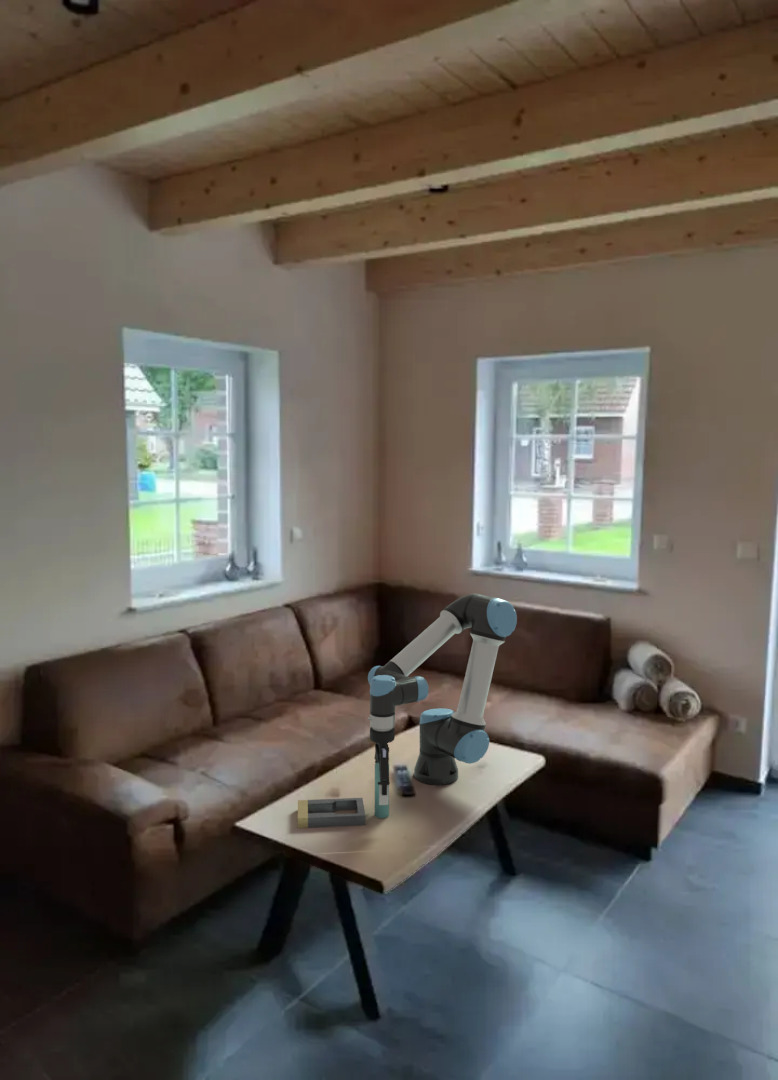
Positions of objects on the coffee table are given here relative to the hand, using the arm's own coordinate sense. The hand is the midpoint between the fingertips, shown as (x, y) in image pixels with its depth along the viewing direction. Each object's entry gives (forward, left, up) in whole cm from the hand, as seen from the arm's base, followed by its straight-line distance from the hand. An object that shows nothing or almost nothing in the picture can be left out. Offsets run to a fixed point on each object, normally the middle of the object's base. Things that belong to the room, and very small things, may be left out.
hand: (381, 794), depth 240 cm
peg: (0, 0, -7) cm, 7 cm away
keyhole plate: (+15, 0, -7) cm, 17 cm away
